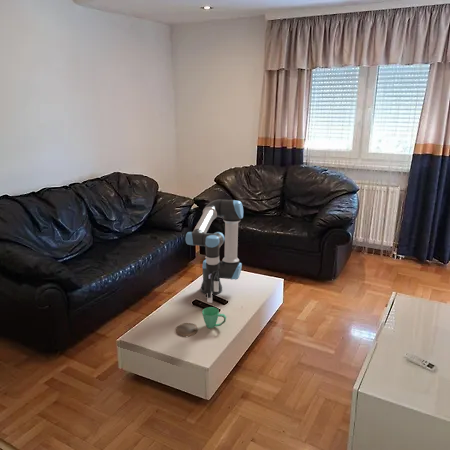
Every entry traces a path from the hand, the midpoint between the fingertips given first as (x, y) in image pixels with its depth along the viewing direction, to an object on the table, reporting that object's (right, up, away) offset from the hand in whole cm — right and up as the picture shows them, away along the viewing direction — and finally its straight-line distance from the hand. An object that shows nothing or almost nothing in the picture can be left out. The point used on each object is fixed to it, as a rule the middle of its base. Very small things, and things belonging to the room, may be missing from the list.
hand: (213, 296), depth 229 cm
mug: (+1, -19, +6) cm, 20 cm away
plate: (-16, -20, +3) cm, 25 cm away
